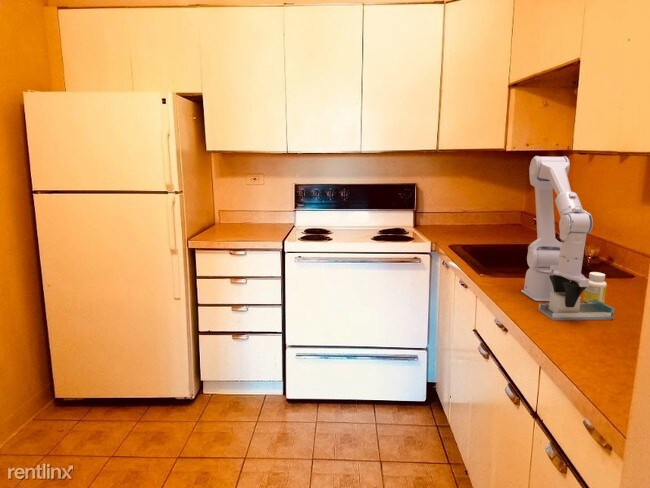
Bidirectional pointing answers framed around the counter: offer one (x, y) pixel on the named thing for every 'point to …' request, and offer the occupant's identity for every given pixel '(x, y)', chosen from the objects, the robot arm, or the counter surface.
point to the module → (561, 303)
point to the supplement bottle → (595, 288)
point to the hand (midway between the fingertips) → (564, 303)
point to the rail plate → (582, 312)
